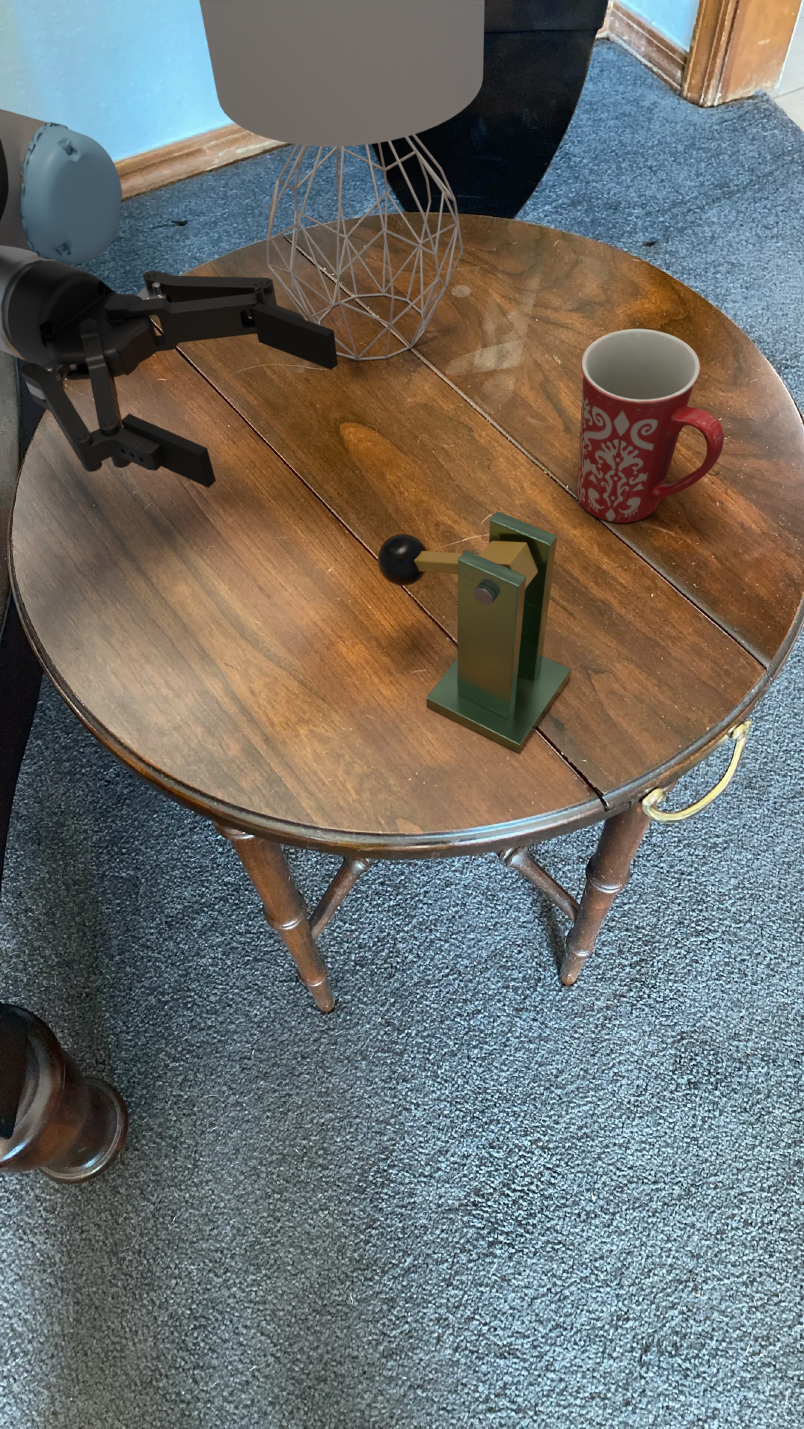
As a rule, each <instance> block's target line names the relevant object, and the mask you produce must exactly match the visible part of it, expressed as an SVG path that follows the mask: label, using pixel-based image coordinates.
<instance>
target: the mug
mask: <svg viewBox="0 0 804 1429" xmlns="http://www.w3.org/2000/svg"><path fill="white" fill-rule="evenodd" d="M580 368H581V373H582V391H581V406H580V428H579V448H578V463H577V464H578V466H577V479H576V494H577V499H578V502H579V503H580V506H582V508H583V509H584V510H585V511H587V512H588V513H589V514H590V515H592V516H593V517H595V518H598V519H600V520H603V521H606V522H610V523H618V524H620V523H621V524H623V523H625V524H627V523H632V522H637V521H640V520H642V519H644V518H647V517H648V516H650V515H651V514H652V513H653V512H654V511H656V509H657V508H658V506H659V504H660V502H661V500H664V499H666V498H668V497H672V496H674V495H677V494H678V493H680V492H682V491H684V490H686V489H688V488H690V487H691V486H693V485H695V484H696V483H698V482H699V481H700V480H701V479H703V478H704V477H705V476H706V475H707V474H708V473H709V472H710V471H711V469H713V467H714V466H715V465H716V463H717V462H718V460H719V458H720V456H721V454H722V451H723V447H724V438H725V437H724V431H723V427H722V425H721V423H720V421H719V420H718V419H717V418H716V416H714V415H713V414H712V413H711V412H709V411H707V410H705V409H703V408H698V407H691V406H688V405H689V403H690V402H689V401H690V399H691V394H692V391H693V388H694V386H695V384H696V383H697V381H698V378H699V377H700V373H701V362H700V359H699V357H698V355H697V353H696V351H695V350H694V349H693V348H692V347H691V346H690V345H689V344H687V343H686V342H685V341H683V340H682V339H681V338H679V337H677V336H675V335H673V334H669V333H667V332H663V331H659V330H654V329H647V328H629V329H621V330H616V331H613V332H610V333H607V334H604V335H603V336H600V337H599V338H596V339H595V340H594V341H592V343H590V344H589V345H588V346H587V348H586V349H585V350H584V352H583V354H582V357H581V361H580ZM687 426H690V427H693V428H695V429H697V430H698V431H699V432H700V433H701V435H703V438H704V440H705V443H706V453H705V458H704V460H703V463H702V464H701V465H700V466H699V467H698V468H697V469H696V470H694V471H693V472H691V473H689V474H687V475H686V476H683V477H682V478H680V479H679V478H678V479H677V480H674V481H667V478H668V474H669V471H670V467H671V464H672V460H673V456H674V453H675V452H676V447H677V443H678V439H679V436H680V432H682V430H683V429H684V428H685V427H687Z"/></svg>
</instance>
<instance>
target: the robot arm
mask: <svg viewBox="0 0 804 1429" xmlns="http://www.w3.org/2000/svg"><path fill="white" fill-rule="evenodd" d="M122 201H123V189H122V183H121V179H120V176H119V172H118V170H117V167H116V165H115V163H114V160H113V159H112V157H111V156H110V154H109V152H108V151H107V150H106V149H105V148H104V147H103V145H101V144H100V143H99V142H98V141H97V140H96V139H94V138H92V137H91V136H88V135H87V134H83V133H80V132H77V131H75V130H73V129H70V128H69V127H68V126H67V125H65V124H61V123H56V122H54V121H49V122H47V121H44V120H40V119H37V118H34V117H31V116H28V115H23V114H21V113H17V112H13V111H10V110H6V109H2V108H0V351H2V352H4V353H6V354H8V355H11V356H13V357H16V358H18V359H20V360H22V361H26V362H28V363H25V364H24V365H22V366H21V368H20V372H21V375H22V377H23V379H24V381H25V384H26V386H27V388H28V390H29V393H30V395H31V398H32V400H33V402H34V403H36V404H37V405H39V406H41V407H43V409H45V410H47V411H49V412H50V413H51V415H52V416H53V417H52V418H54V420H55V422H56V423H57V425H58V428H60V430H61V432H62V434H63V435H64V437H65V438H66V440H67V442H68V444H69V445H70V447H71V449H72V450H73V452H74V454H75V456H76V458H77V459H78V461H79V462H80V464H81V466H82V468H83V469H84V470H85V471H86V472H89V473H94V472H97V471H100V469H101V468H103V462H104V461H105V460H107V459H110V458H111V461H112V464H113V466H114V467H115V468H118V469H124V468H126V467H128V466H130V465H131V463H133V464H134V465H137V466H139V467H142V468H143V469H146V470H148V471H154V472H155V471H158V470H159V469H160V468H161V467H162V468H164V469H167V470H168V471H171V472H173V473H175V474H177V475H179V476H181V477H184V478H186V479H188V480H189V481H192V482H195V483H197V484H199V485H202V486H203V487H206V488H207V489H209V488H211V486H213V485H214V484H215V483H216V482H217V479H216V475H215V472H214V469H213V465H212V462H211V458H210V457H211V456H210V454H209V450H208V447H206V446H204V445H201V444H199V443H196V442H194V441H192V440H190V439H189V438H185V437H183V436H181V435H178V434H176V433H174V432H172V431H169V430H168V429H165V428H163V427H160V426H158V425H156V424H153V423H152V422H149V421H146V420H144V419H142V418H140V417H138V416H135V415H133V414H131V413H128V414H127V415H126V416H124V418H122V414H121V409H120V404H119V399H118V396H119V395H118V391H117V386H116V385H117V384H116V381H115V378H118V377H122V376H124V375H125V376H130V374H132V373H133V372H134V371H135V370H137V368H138V366H139V365H140V364H141V363H142V362H144V361H146V360H148V359H150V358H151V357H153V355H154V354H156V353H157V352H166V351H173V350H175V349H176V348H177V346H178V345H179V344H180V343H181V344H182V343H190V342H198V341H199V342H200V341H205V340H214V339H222V338H223V339H224V338H231V337H241V336H247V335H257V340H258V343H259V344H261V345H262V344H263V345H265V346H268V347H271V348H273V349H276V350H278V351H281V352H284V353H286V354H288V355H291V356H294V357H297V358H299V359H301V360H304V361H307V362H310V363H312V364H315V365H317V366H320V367H322V368H325V369H328V370H330V371H333V370H334V369H335V368H336V367H337V366H338V365H339V361H338V355H337V353H336V352H337V346H336V345H337V344H336V341H335V338H336V336H335V330H334V329H332V328H329V327H326V326H323V325H322V326H321V324H320V325H318V324H315V323H312V322H311V321H310V320H308V319H307V320H308V321H307V320H304V317H303V316H302V315H301V314H300V313H299V312H297V311H293V310H292V309H288V308H286V307H283V306H280V305H278V303H277V298H276V292H275V286H274V281H273V279H272V278H269V277H253V276H252V277H251V276H249V277H248V276H247V277H246V276H205V275H203V276H200V275H173V274H170V273H167V272H162V271H159V270H148V271H146V272H144V273H143V275H142V278H143V282H144V285H145V286H144V287H143V288H142V289H141V290H140V291H139V292H138V293H137V294H134V293H118V292H116V291H115V290H113V289H112V288H111V287H110V286H109V285H108V284H106V283H105V282H104V281H103V280H102V279H100V277H98V276H97V275H95V274H93V273H91V272H89V271H86V270H83V269H81V268H78V267H76V266H73V264H75V265H79V264H81V265H82V264H86V263H89V262H92V261H93V260H95V259H97V258H98V257H100V256H101V255H102V254H103V253H104V252H105V251H106V250H107V249H108V247H109V246H110V245H111V243H112V242H113V240H114V238H115V236H116V234H117V233H118V229H119V225H120V222H121V211H122ZM70 264H71V265H70ZM151 316H156V317H157V318H158V321H159V323H160V328H161V331H162V333H163V334H159V335H157V333H156V329H155V326H154V323H153V321H152V318H151ZM64 379H66V380H68V381H84V380H85V381H86V380H90V385H91V392H92V396H93V401H94V407H95V412H96V417H97V423H98V427H99V428H97V429H95V430H92V431H90V430H89V428H88V427H87V425H86V423H85V422H84V420H83V419H82V417H81V416H80V414H79V413H78V411H77V408H75V405H74V404H73V403H72V401H71V399H70V398H69V396H68V394H67V393H66V391H65V389H66V384H65V382H64Z"/></svg>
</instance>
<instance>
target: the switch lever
mask: <svg viewBox="0 0 804 1429" xmlns="http://www.w3.org/2000/svg"><path fill="white" fill-rule="evenodd" d="M427 549H428V548H426V545H425V544H424V543H423V542H422V540H420V539H419V538H417V537H416V536H414V535H411V534H408V533H398V534H396V535H392V536H390V537H389V538H387V539H386V540H385V541H384V542H383V543H382V545H381V546H380V547H379V551H378V554H377V566H378V569H379V571H380V573H381V575H382V576H383V578H384V579H386V580H387V581H388V582H389V583H391V584H393V585H397V586H399V587H400V586H405V587H406V586H411V585H413V584H415V583H417V582H419V581H420V580H421V579H422V578H423V577H424V576H425V574H426V573H439V574H448V575H449V574H451V575H458V559H459V557H460V556H461V555H462V554H463V553H464V552H445V551H443V552H442V551H431V550H430V551H428V550H427ZM475 554H476V555H478V556H481V557H483V558H485V559H487V560H490V561H492V562H494V563H497V564H499V565H501V566H503V567H506V568H508V569H510V570H513V571H515V572H517V573H520V574H522V575H524V576H526V585H525V589H526V587H527V586H528V585H529V583H530V582H531V581H532V579H533V578H534V577H535V575H536V574H537V573H538V570H537V567H536V565H535V562H534V560H533V557H532V555H531V552H530V550H529V547H528V545H527V543H526V542H505V541H491V542H490V544H489V543H488V545H487V546H486V547H485V549H484V550H482V552H481V553H475Z"/></svg>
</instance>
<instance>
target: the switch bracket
mask: <svg viewBox="0 0 804 1429" xmlns="http://www.w3.org/2000/svg"><path fill="white" fill-rule="evenodd" d="M488 536H489V538H488V539H489V540H488V545H489V544H490V542H491V541H505V542H526V543H527V545H528V547H529V550H530V552H531V555H532V557H533V560H534V562H535V565H536V567H537V570H538V573H537V574H536V575H535V577H534V578H533V579H532V581H531V582H530V583H529V585H528V586H527V587H526V589H525V585H526V576H524V575H522V574H520V573H517V572H515V571H513V570H510V569H508V568H506V567H503V566H501V565H499V564H497V563H494V562H492V561H490V560H487V559H485V558H483V557H481V556H478V555H476V554H477V553H474V552H471V551H469V550H467V549H465V550H464V551H463V552H462V553H463V554H462V555H461V556H460V557H459V559H458V574H457V657H456V658H455V660H454V661H453V663H451V665H450V666H449V668H447V670H446V671H445V673H444V674H443V675H442V677H441V678H440V679H439V681H437V683H436V685H435V686H434V687H433V688H432V689H431V691H430V692H429V694H428V695H427V696H426V699H425V700H426V701H425V702H426V707H427V708H428V709H430V710H432V711H434V712H436V713H437V714H440V715H442V716H444V717H446V718H448V719H450V720H451V721H454V722H456V723H458V724H460V725H462V726H464V727H465V728H468V729H469V730H471V731H473V732H476V733H477V734H479V735H480V736H483V737H485V738H487V739H489V740H492V742H494V743H497V744H499V745H500V746H503V747H505V748H507V749H509V750H511V751H513V752H515V753H517V754H520V753H521V751H522V750H523V748H524V747H525V746H526V744H527V742H528V741H529V739H530V738H531V736H532V735H533V733H534V732H535V731H536V729H537V727H538V726H539V725H540V723H541V722H542V720H543V718H544V717H545V716H546V714H547V713H548V711H549V710H550V709H551V707H552V705H553V704H554V703H555V701H556V700H557V698H558V696H559V695H560V693H561V692H562V690H563V689H564V688H565V686H566V684H568V682H569V680H570V678H571V674H572V669H571V668H569V667H568V666H566V665H563V664H561V663H559V662H557V661H555V660H553V659H550V658H548V657H546V656H543V655H544V647H545V640H546V639H545V638H546V630H547V623H548V614H549V606H550V597H551V590H552V581H553V573H554V565H555V557H556V556H555V555H556V549H557V540H558V535H557V534H554V533H551V532H549V531H546V530H544V529H542V528H540V527H537V526H535V525H533V524H530V523H527V522H525V521H522V520H520V519H518V518H515V517H513V516H511V515H509V514H506V513H503V512H501V511H496V512H495V513H494V515H493V516H492V517H491V518H490V519H489V535H488Z"/></svg>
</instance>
